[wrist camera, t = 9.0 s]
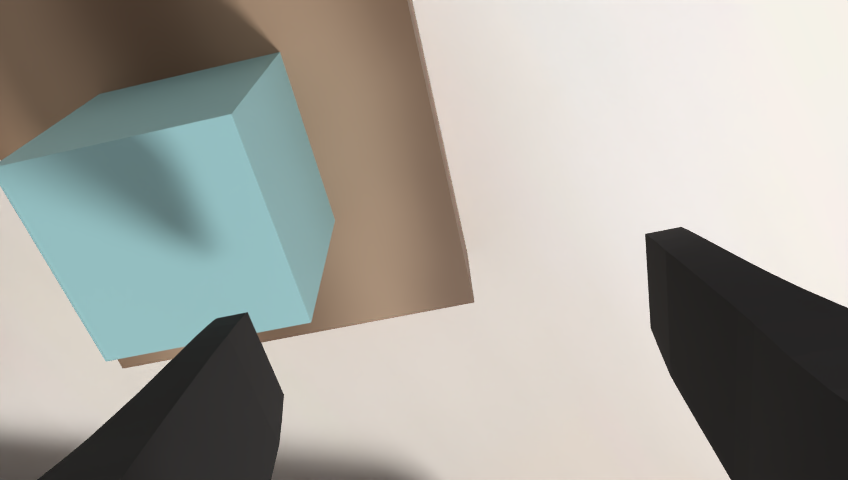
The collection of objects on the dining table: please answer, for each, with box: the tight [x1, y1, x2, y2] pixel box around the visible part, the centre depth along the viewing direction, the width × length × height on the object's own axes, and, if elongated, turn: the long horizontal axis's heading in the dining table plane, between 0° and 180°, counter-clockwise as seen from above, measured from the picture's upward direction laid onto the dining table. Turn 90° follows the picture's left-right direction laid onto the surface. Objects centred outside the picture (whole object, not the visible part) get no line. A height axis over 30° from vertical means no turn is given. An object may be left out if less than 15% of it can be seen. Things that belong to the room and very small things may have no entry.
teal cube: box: [0, 52, 335, 361], centre depth 16 cm, size 5×5×5 cm
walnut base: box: [0, 0, 474, 368], centre depth 19 cm, size 12×12×3 cm
